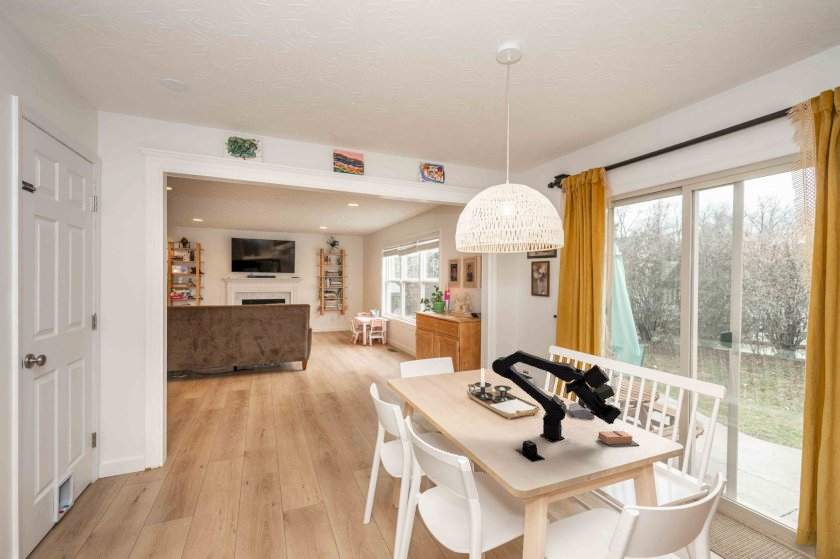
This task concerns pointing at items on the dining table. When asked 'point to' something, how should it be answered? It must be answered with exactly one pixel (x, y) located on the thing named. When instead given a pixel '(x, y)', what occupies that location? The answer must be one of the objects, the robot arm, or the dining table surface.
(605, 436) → the terracotta block
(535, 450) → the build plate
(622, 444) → the charcoal mat
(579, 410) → the stone block
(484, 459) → the dining table surface
